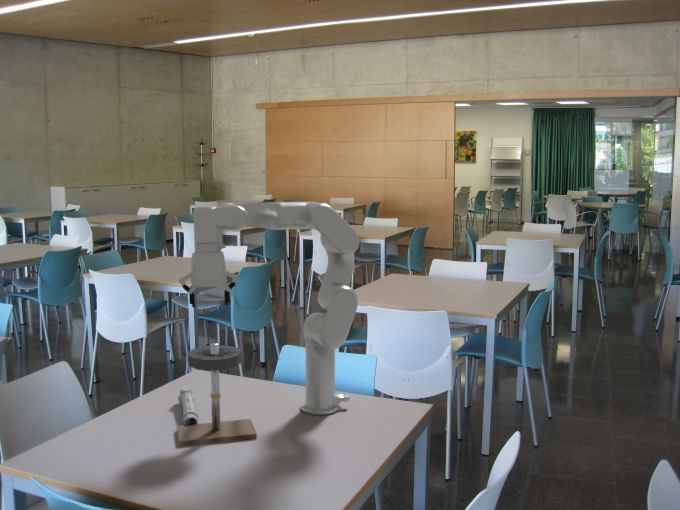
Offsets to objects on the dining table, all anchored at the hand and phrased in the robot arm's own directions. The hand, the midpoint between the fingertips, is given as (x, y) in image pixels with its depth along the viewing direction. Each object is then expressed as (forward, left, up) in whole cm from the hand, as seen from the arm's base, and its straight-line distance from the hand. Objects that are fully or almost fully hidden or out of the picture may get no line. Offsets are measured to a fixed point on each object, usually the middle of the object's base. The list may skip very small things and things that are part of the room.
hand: (209, 305), depth 209 cm
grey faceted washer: (0, +7, -16) cm, 17 cm away
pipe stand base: (0, +7, -38) cm, 38 cm away
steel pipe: (0, +7, -36) cm, 37 cm away
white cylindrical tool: (+6, -12, -38) cm, 41 cm away
